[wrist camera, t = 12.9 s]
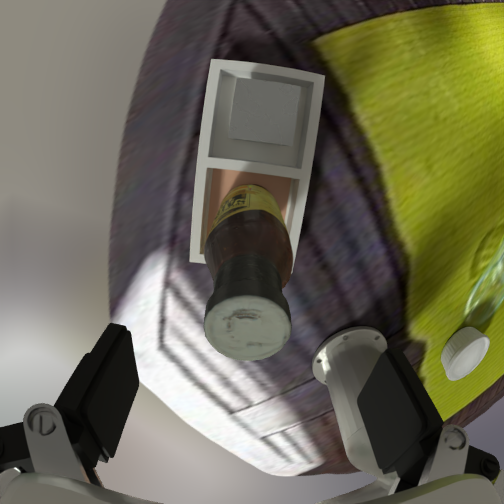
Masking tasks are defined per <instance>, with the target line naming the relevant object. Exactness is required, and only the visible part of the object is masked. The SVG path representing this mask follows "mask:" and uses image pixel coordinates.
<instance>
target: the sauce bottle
mask: <svg viewBox="0 0 504 504" xmlns="http://www.w3.org/2000/svg"><path fill="white" fill-rule="evenodd" d="M204 258H205V262H206V264H207V266H208V268H209V270H210V273H211V276H212V278H213V281H214V282H213V283H214V292H213V294H212V296H211V297H210V299H209V300H208V302H207V305H206V310H205V317H204V331H205V337H206V338H207V340H208V341H209V343H210V344H211V345H212V346H213V347H214V348H215V349H216V350H217V351H218V352H219V353H221V354H223V355H225V356H226V357H229V358H232V359H236V360H245V361H252V360H261V359H263V358H266V357H269V356H271V355H273V354H275V353H276V352H278V351H279V350H280V349H281V348H282V347H283V346H284V345H285V343H286V342H287V340H288V339H289V337H290V334H291V328H292V325H291V314H290V310H289V305H288V302H287V300H286V298H285V297H284V295H283V294H282V289H283V288H284V287H285V285H286V284H287V282H288V281H289V279H290V276H291V271H292V267H293V251H292V246H291V242H290V237H289V234H288V231H287V228H286V225H285V223H284V220H283V217H282V214H281V211H280V208H279V205H278V203H277V201H276V199H275V198H274V196H273V195H272V194H271V193H270V192H269V191H268V190H267V189H265V188H264V187H262V186H260V185H257V184H243V185H240V186H238V187H236V188H234V189H233V190H231V191H230V192H229V193H228V194H227V195H226V196H225V197H224V199H223V201H222V202H221V205H220V207H219V210H218V212H217V215H216V217H215V219H214V222H213V224H212V227H211V230H210V232H209V234H208V237H207V240H206V243H205V246H204Z"/></svg>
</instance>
